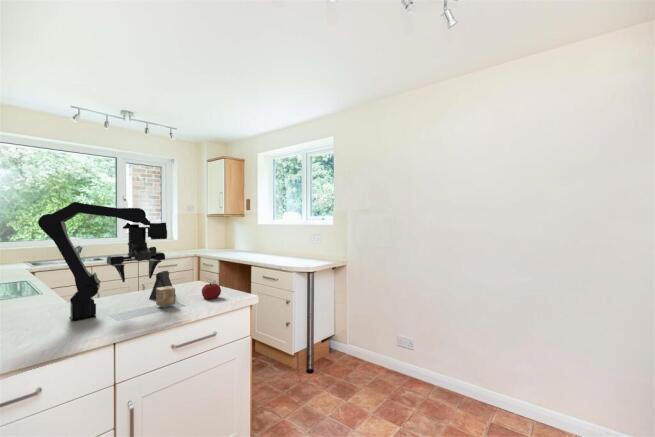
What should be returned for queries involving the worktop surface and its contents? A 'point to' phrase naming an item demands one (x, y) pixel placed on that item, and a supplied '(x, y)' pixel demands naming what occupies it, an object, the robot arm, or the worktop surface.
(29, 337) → the worktop surface
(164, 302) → the wooden block
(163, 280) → the phone stand
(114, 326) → the worktop surface
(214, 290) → the red apple
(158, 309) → the board
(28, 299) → the worktop surface
